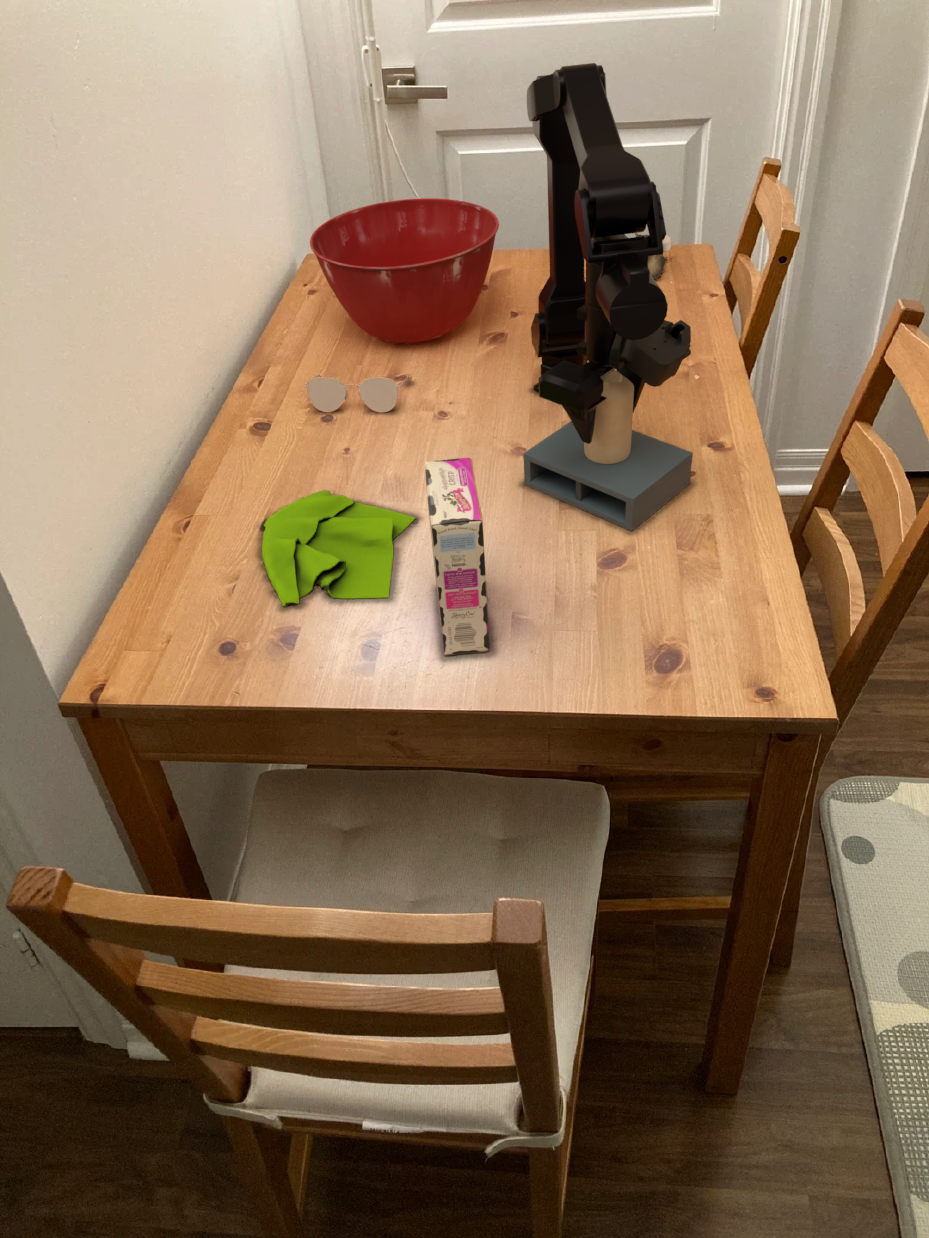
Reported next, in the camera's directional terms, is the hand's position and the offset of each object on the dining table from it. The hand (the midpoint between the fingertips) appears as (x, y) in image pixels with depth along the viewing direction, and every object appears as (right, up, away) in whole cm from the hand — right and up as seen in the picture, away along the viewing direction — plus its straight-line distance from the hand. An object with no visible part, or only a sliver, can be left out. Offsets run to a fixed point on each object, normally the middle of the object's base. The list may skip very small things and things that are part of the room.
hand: (608, 427), depth 114 cm
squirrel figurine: (+14, +37, +52) cm, 66 cm away
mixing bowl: (-25, +24, +42) cm, 55 cm away
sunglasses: (-32, +9, +26) cm, 42 cm away
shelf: (+1, -6, +5) cm, 8 cm away
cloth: (-32, -15, -1) cm, 35 cm away
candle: (0, -3, +2) cm, 4 cm away
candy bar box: (-17, -23, -11) cm, 30 cm away
